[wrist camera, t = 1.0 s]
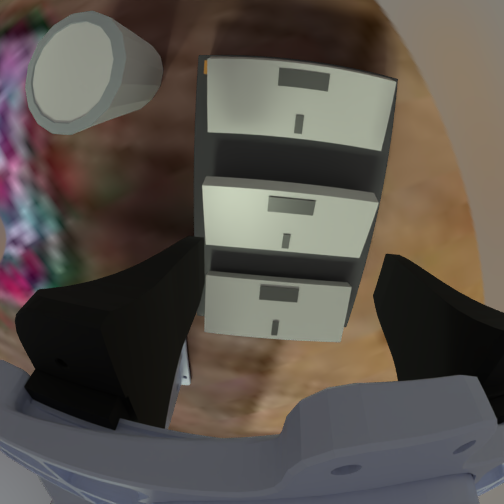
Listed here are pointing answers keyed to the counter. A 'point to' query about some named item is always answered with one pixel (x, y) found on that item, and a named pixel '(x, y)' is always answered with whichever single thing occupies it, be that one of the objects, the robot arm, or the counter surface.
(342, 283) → the pale rectangular block
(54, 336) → the robot arm
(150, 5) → the counter surface
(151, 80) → the shot glass
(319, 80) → the cabinet drawer
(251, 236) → the filing cabinet drawer
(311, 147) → the filing cabinet
